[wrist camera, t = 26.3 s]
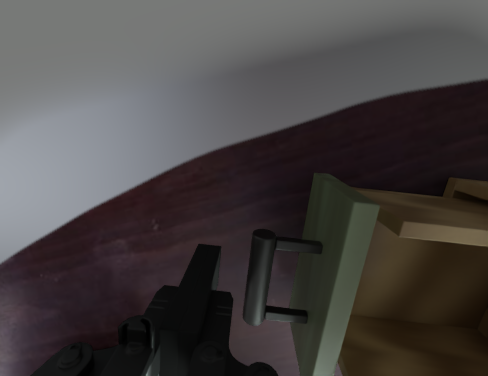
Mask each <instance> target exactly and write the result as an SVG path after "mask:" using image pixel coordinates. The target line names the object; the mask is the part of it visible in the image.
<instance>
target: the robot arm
mask: <svg viewBox="0 0 488 376" xmlns="http://www.w3.org/2000/svg"><path fill="white" fill-rule="evenodd" d="M220 255H221V246H215V245H206V244H198V246H197V248H196V251H195V253H194V255H193V257H192V259H191V261H190V263H189V266H188V268H187V270H186V272H185V274H184V276H183V279H182V281H181V283H180V285H179V287H175V286H167V285H164V286H163V287H162V288H161V289H159V290H158V291H157V292H156V294H155V296H154V297H153V299H152V301H151V303H150V304H149V307H148V308H147V309H146V311H145V313H144V315H138V316H134V317H131V318H129V319H127V320H125V321H124V322H123V323H122V324H121V325H120V326H119V327H118V336H119V345H117V346H115V347H111V348H107V349H102V350H96V351H93V349H92V346H91V345H90V344H88V343H84V342H79V343H73V344H71V345H69V346H66V347H64V348H63V349H61V350H60V351H58V352H57V353H56V354H55V355H53V356H52V357H51V358H50V359H49V360H48V361H47V362H45V363H44V364H43V365H42V366H41V367H40V368H38V369H37V370H36V371H35V372H34V373H33V374H32V375H30V376H158V374H159V376H278V374H277V372H276V371H275V370H274V369H273V368H272V367H271V366H270V365H268V364H266V363H263V362H256V363H253V364H251V365H250V366H249V367H248V366H246V365H244V364H242V363H240V362H239V361H237V360H236V359H235V358H234V357H233V356H232V354H231V352H230V349H229V335H230V326H231V317H232V307H233V298H232V295H231V293H230V292H224V291H216V289H217V285H218V278H219V267H220Z"/></svg>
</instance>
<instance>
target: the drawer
mask: <svg viewBox="0 0 488 376" xmlns="http://www.w3.org/2000/svg"><path fill="white" fill-rule="evenodd" d="M275 249H277V250H286V251H295V252H299V257H298V262H297V268H296V273H295V278H294V284H293V289H292V295H291V300H290V305H289V308H283V307H274V306H266V302H267V295H268V289H269V282H270V276H271V269H272V263H273V256H274V250H275ZM264 318H265V319H267V320H275V321H284V322H290V324H291V330H292V335H293V340H294V345H295V351H296V356H297V361H298V366H299V372H300V376H334V373H335V369H336V365H337V362H338V364H339V367H340V370H341V373H342V375H343V376H488V202H484V201H475V200H466V199H457V198H447V197H438V196H429V195H420V194H411V193H402V192H392V191H383V190H374V189H365V188H356V187H350V186H348V185H346V184H345V183H343V182H341V181H340V180H338V179H337V178H335V177H333V176H332V175H330V174H323V173H314V177H313V182H312V187H311V193H310V198H309V203H308V209H307V214H306V219H305V225H304V230H303V236H302V239H296V238H287V237H278V236H276V234H275V233H274V232H272V231H270V230H267V229H257V230H255V231H254V232H253V234H252V242H251V250H250V259H249V267H248V275H247V283H246V291H245V299H244V307H243V319H244V321H245V322H246V323H247V324H249V325H252V326H257V325H260V324H261V323H262V322H263V320H264Z"/></svg>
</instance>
